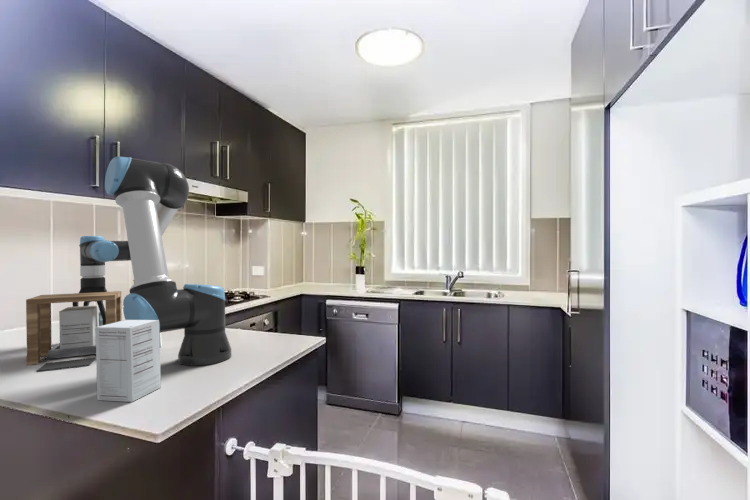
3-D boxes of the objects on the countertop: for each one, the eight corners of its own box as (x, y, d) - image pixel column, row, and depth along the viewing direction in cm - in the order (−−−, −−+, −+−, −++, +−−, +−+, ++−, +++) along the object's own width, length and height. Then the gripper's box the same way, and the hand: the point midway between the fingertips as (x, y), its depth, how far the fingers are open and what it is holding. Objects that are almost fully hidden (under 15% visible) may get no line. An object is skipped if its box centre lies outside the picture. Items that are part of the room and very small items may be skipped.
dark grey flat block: (89, 365, 111) (89, 364, 111) (36, 372, 106) (36, 370, 106) (95, 358, 118) (95, 357, 118) (46, 364, 113) (46, 362, 113)
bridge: (115, 355, 122) (114, 295, 122) (26, 365, 112) (26, 299, 112) (121, 346, 133) (121, 291, 133) (41, 354, 124) (41, 295, 123)
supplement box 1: (67, 351, 127) (66, 306, 127) (99, 347, 131) (99, 304, 131) (58, 358, 119) (58, 310, 119) (93, 354, 123) (92, 308, 123)
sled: (103, 353, 124) (102, 322, 124) (48, 358, 117) (48, 326, 117) (117, 336, 147) (116, 310, 147) (72, 340, 141) (71, 313, 141)
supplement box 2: (162, 387, 93) (161, 319, 93) (132, 402, 84) (131, 327, 84) (128, 385, 95) (127, 318, 95) (95, 400, 86) (94, 326, 85)
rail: (104, 356, 120) (104, 355, 120) (38, 364, 113) (38, 362, 113) (119, 338, 145) (119, 337, 145) (66, 343, 138) (66, 341, 138)
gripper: (122, 275, 149) (123, 334, 149) (66, 277, 142) (67, 339, 142) (119, 276, 143) (120, 338, 143) (60, 278, 135) (61, 343, 135)
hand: (93, 338), depth 142 cm, fingers closed on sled, 4 cm apart
